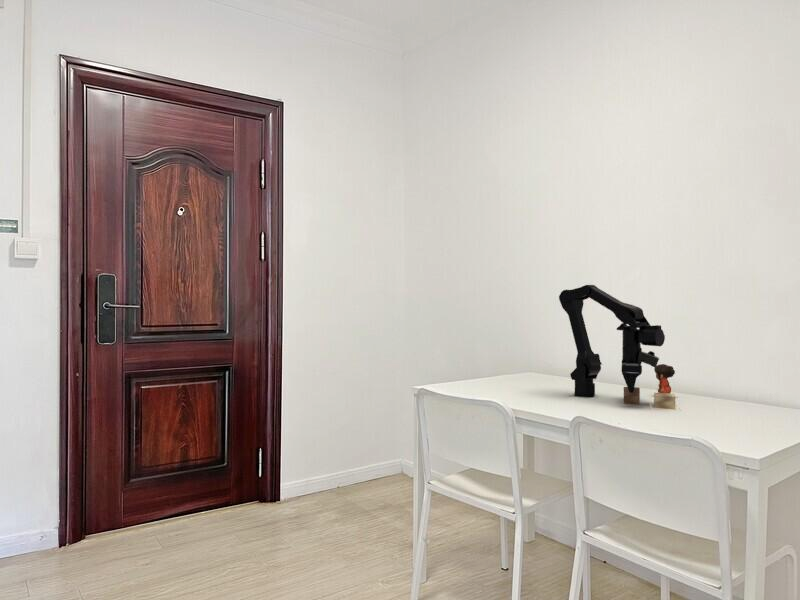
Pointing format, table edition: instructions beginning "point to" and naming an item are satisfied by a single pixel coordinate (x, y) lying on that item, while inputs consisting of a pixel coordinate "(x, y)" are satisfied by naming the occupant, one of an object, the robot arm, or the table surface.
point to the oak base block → (664, 400)
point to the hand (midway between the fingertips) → (631, 390)
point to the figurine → (664, 377)
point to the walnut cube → (632, 396)
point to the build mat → (665, 409)
